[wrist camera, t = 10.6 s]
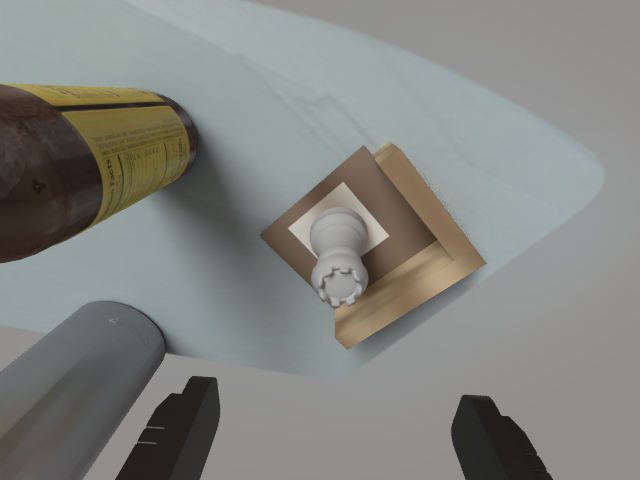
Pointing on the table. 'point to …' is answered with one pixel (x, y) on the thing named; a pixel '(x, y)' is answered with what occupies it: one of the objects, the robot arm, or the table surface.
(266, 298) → the table surface
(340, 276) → the rook chess piece
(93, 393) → the robot arm
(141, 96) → the sauce bottle
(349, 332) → the wooden tray
